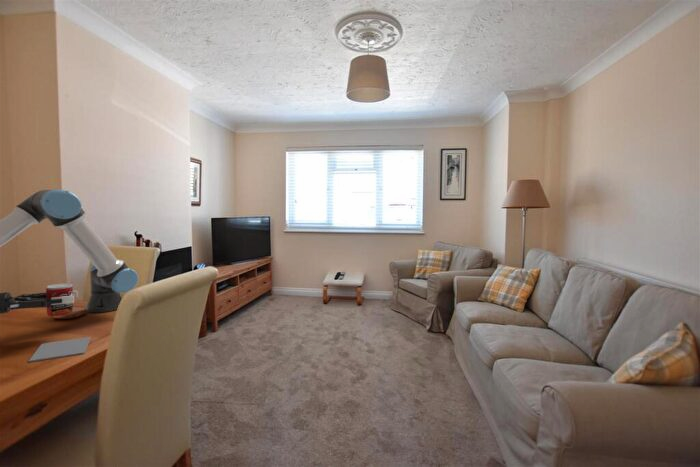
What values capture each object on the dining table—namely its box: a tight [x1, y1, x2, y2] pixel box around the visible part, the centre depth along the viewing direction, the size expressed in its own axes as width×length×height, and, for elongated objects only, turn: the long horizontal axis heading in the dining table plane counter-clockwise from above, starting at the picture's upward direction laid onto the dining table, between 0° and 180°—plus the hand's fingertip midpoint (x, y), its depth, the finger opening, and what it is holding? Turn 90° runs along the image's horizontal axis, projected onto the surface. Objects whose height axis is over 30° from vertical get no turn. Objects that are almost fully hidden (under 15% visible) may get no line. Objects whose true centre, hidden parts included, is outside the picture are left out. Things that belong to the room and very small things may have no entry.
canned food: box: [45, 283, 74, 317], centre depth 126 cm, size 8×8×11 cm
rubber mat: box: [28, 336, 91, 363], centre depth 115 cm, size 16×14×1 cm
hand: (75, 296), depth 129 cm, fingers closed on canned food, 8 cm apart
